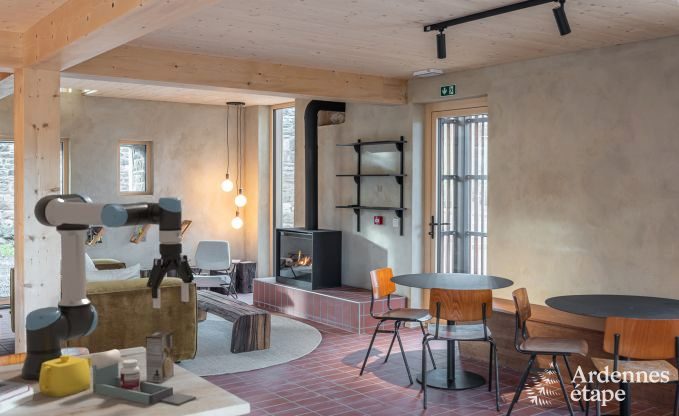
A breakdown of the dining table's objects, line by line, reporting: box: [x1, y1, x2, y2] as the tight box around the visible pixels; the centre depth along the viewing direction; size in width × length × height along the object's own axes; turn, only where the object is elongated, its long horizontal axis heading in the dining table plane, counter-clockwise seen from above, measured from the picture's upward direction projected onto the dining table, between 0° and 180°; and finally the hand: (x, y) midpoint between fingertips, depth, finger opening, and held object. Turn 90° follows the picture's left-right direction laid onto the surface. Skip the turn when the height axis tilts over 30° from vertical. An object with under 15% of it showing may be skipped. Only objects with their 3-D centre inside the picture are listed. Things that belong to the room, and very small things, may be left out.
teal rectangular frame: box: [89, 348, 174, 406], centre depth 241 cm, size 28×10×12 cm, turn 60°
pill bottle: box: [119, 359, 141, 392], centre depth 242 cm, size 6×6×11 cm
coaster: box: [160, 392, 197, 406], centre depth 235 cm, size 8×8×1 cm
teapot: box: [38, 354, 92, 398], centre depth 246 cm, size 20×12×12 cm, turn 147°
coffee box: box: [145, 330, 175, 383], centre depth 259 cm, size 9×6×16 cm
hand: (171, 304), depth 250 cm, fingers open, 13 cm apart
